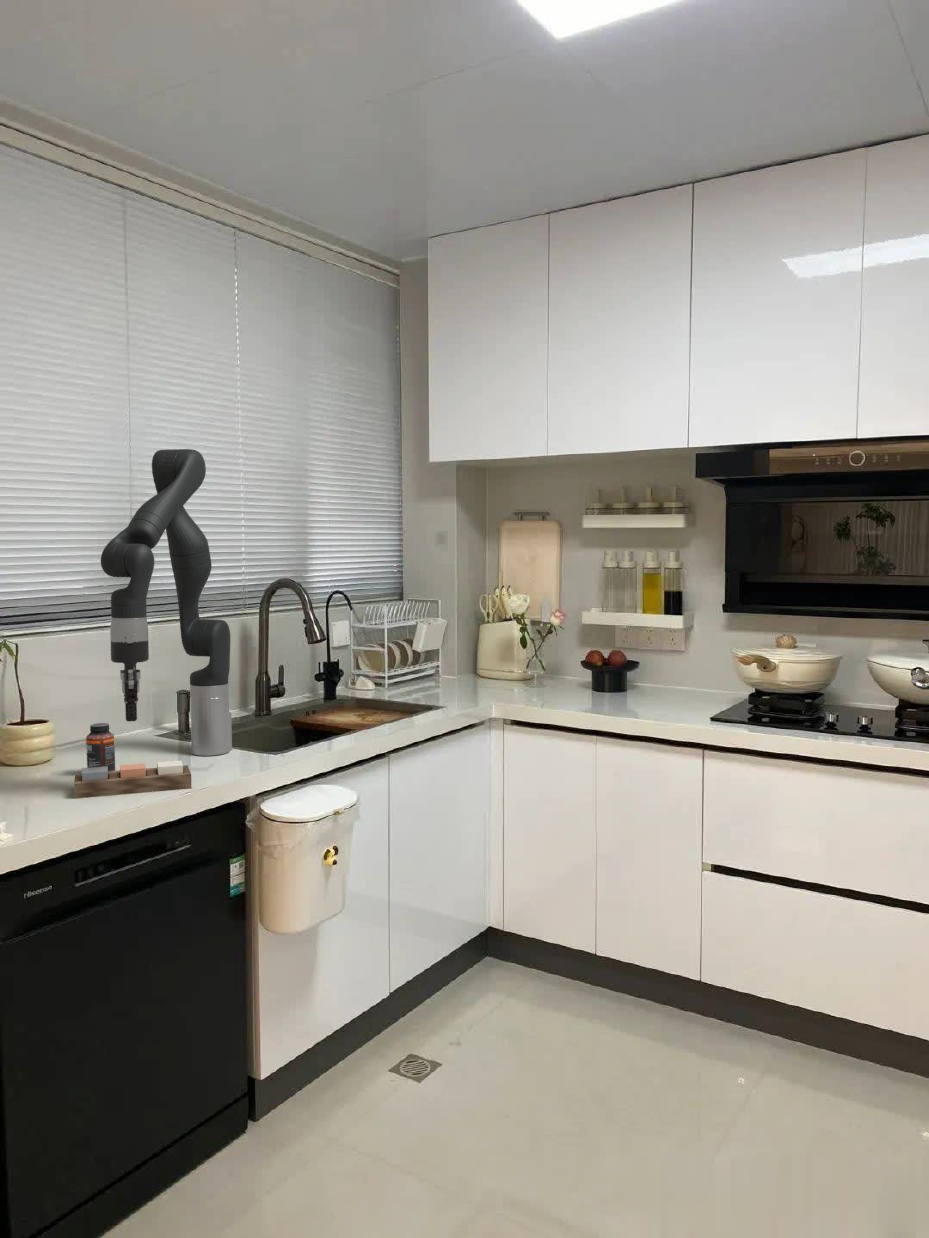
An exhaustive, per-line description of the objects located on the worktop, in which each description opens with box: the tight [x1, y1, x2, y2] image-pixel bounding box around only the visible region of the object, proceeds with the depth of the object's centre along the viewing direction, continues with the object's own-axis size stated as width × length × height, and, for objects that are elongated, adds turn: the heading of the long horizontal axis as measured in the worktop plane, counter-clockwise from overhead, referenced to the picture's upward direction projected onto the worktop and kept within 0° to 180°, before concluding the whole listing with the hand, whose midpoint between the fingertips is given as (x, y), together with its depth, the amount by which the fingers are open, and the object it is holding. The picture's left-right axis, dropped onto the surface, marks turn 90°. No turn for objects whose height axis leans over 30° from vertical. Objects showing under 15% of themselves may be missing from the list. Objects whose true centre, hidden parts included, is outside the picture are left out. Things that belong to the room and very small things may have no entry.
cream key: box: [156, 760, 184, 775], centre depth 204 cm, size 5×5×2 cm
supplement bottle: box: [85, 722, 116, 771], centre depth 214 cm, size 6×6×11 cm
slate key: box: [81, 766, 108, 781], centre depth 198 cm, size 5×5×2 cm
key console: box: [73, 764, 192, 799], centre depth 201 cm, size 23×9×3 cm, turn 111°
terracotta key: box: [119, 762, 146, 778], centre depth 201 cm, size 5×5×2 cm
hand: (131, 720), depth 200 cm, fingers closed
